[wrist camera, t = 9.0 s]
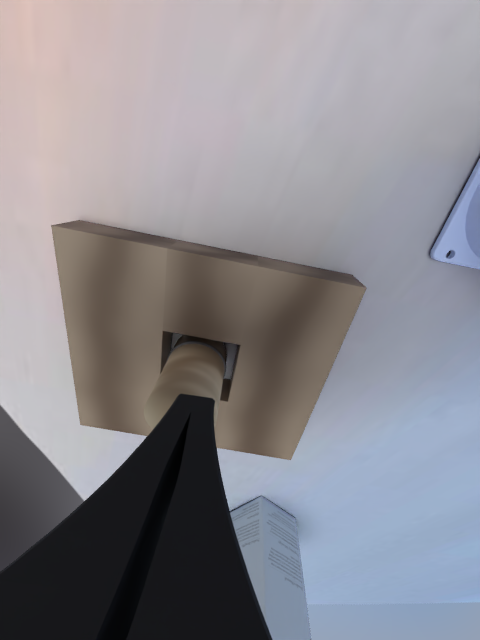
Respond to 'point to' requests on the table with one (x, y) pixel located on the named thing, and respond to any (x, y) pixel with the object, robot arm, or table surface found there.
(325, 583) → the table surface
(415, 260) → the table surface
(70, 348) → the board
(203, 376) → the peg
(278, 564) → the skincare box
